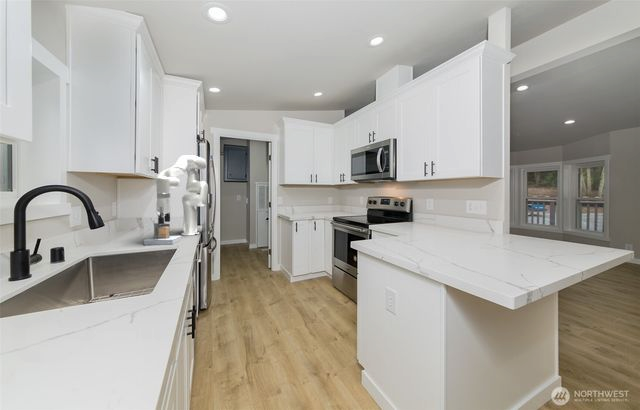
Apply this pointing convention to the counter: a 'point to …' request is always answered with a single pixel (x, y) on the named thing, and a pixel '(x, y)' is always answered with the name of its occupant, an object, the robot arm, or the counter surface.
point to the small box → (156, 228)
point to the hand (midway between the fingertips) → (164, 222)
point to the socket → (162, 240)
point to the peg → (163, 232)
